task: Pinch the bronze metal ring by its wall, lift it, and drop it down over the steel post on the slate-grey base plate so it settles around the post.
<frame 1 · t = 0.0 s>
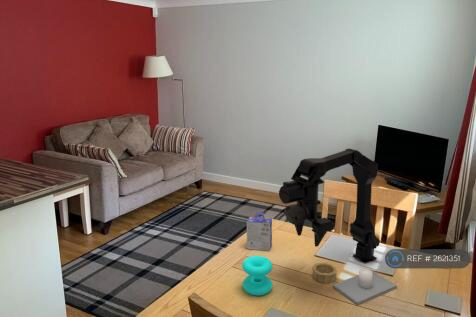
hand: (307, 240, 129), 15 cm above the table, tool pointing down, fingers open, 9 cm apart
donuts: (257, 288, 128), on the table
post plate: (364, 287, 127), on the table
ink cartridge box: (259, 247, 156), on the table
ring: (324, 276, 134), on the table
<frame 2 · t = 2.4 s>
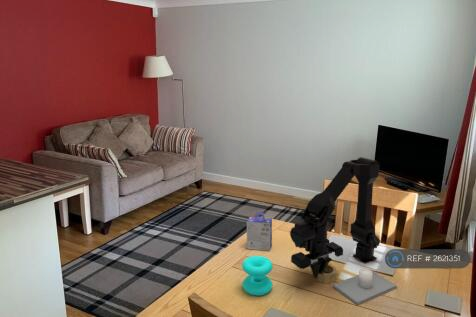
hand: (316, 276, 132), 1 cm above the table, tool pointing down, fingers closed on ring
ring: (324, 276, 134), on the table, touching gripper
everything else where it was.
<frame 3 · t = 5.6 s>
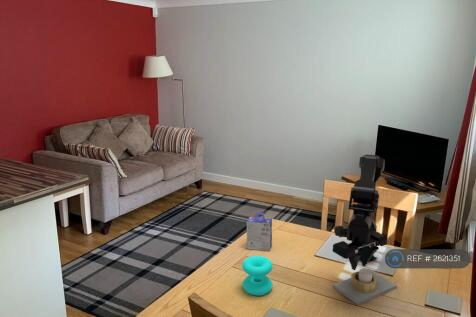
hand: (358, 267, 123), 9 cm above the table, tool pointing down, fingers open, 4 cm apart
ring: (363, 286, 126), point 1 cm above the table, touching post plate
everything else where it was.
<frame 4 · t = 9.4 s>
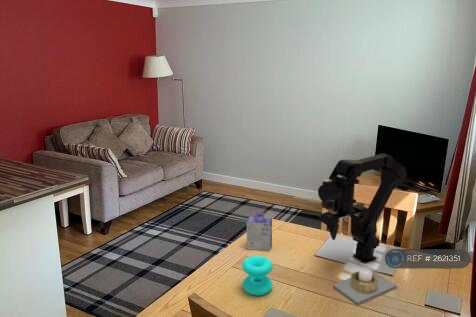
hand: (343, 236, 137), 12 cm above the table, tool pointing down, fingers open, 9 cm apart
nothing on the table moved.
at the end: ring 0.8 cm off-centre on the post plate, point 1.0 cm above the post plate's base; ring tilted 0°; the gripper is holding nothing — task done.
